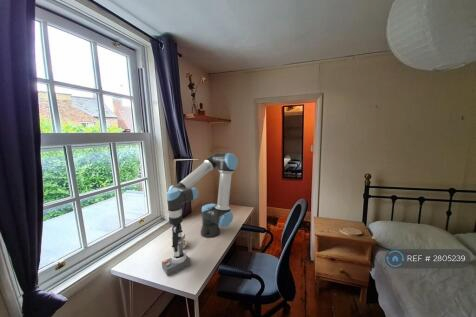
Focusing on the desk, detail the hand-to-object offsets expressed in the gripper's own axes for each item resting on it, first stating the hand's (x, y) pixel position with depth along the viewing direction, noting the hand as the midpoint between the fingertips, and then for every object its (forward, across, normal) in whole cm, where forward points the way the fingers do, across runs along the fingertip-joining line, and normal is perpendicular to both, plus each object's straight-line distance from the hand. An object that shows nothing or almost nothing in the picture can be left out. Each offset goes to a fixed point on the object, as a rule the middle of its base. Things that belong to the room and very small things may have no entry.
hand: (178, 249), depth 117 cm
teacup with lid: (+11, -19, -2) cm, 22 cm away
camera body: (+10, +1, -2) cm, 11 cm away
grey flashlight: (+6, 0, 0) cm, 6 cm away
